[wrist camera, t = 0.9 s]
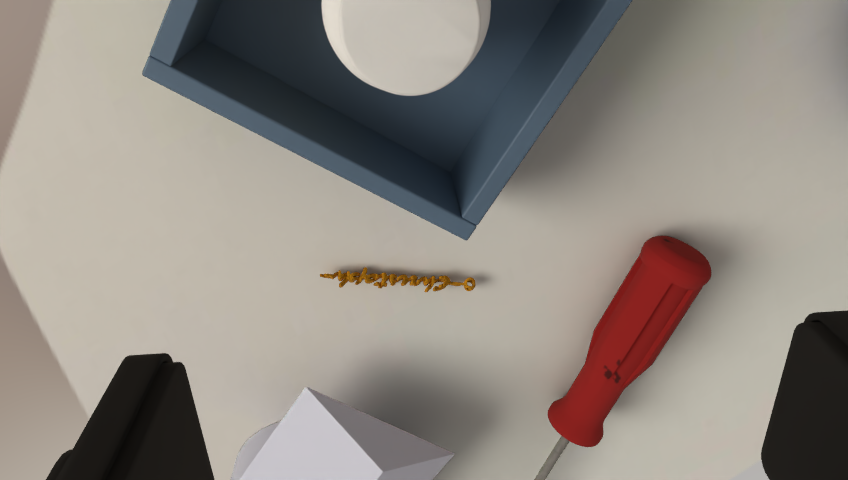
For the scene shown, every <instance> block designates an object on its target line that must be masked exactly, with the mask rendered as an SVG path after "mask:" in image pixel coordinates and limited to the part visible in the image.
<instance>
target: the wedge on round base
mask: <svg viewBox="0 0 848 480" xmlns="http://www.w3.org/2000/svg"><path fill="white" fill-rule="evenodd" d="M454 455H455V453H453V452H450V451H448V450H446V449H444V448H442V447H439V446H437V445H435V444H433V443H430V442H428V441H426V440H424V439H421V438H419V437H417V436H415V435H413V434H410V433H408V432H406V431H404V430H401V429H399V428H397V427H395V426H392V425H390V424H388V423H386V422H384V421H381V420H379V419H377V418H375V417H372V416H370V415H368V414H366V413H363V412H361V411H359V410H357V409H355V408H352V407H350V406H348V405H346V404H343V403H341V402H339V401H337V400H334V399H332V398H330V397H328V396H326V395H323V394H321V393H319V392H317V391H314V390H312V389H310V388H308V387H305V388H304V389H303V391H302V392H301V394H300V395H299V396H298V398H297V399H296V401H295V402H294V403H293V405H292V406H291V408H290V409H289V410H288V412H287V413H286V415H285V416H284V417H283V419H282V420H281V421H280V422H277V423H274V424H271V425H269V426H267V427H265V428H263V429H261V430H260V431H258V432H257V433H255V434H254V435H253V436H252V437H250V438H249V439H248V440H247V441H246V442H245V444H244V445H243V446H242V448H241V449H240V451H239V453H238V455H237V458H236V461H235V465H234V469H233V472H232V476H231V480H433V479H434V477H435V476H436V475H437V474H438V473H439V472H440V471H441V469H442V468H443V467H444V466H445V465H446V464H447V463H448V461H449V460H450V459H451V458H452V457H453V456H454Z"/></svg>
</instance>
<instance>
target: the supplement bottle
mask: <svg viewBox="0 0 848 480" xmlns="http://www.w3.org/2000/svg"><path fill="white" fill-rule="evenodd" d="M321 7H322V17H323V24H324V27H325V31H326V34H327V37H328V40H329V42H330V44H331V46H332V48H333V50H334V51H335V53H336V55H337V56H338V58H339V59H340V60H341V62H342V63H343V64H344V65H345V66H346V67H347V69H349V70H350V71H351V72H352V73H353V74H354V75H355V76H357V77H358V78H359V79H361V80H362V81H364V82H365V83H367V84H369V85H371V86H373V87H376V88H378V89H381V90H384V91H386V92H389V93H393V94H397V95H405V96H416V95H423V94H428V93H431V92H434V91H437V90H439V89H441V88H443V87H445V86H446V85H448V84H449V83H451V82H452V81H453V80H455V79H456V78H457V77H458V76H459V75H460V74H461V73H462V72H463V71H464V70H465V69H466V68H467V67H468V65H469V64H470V63H471V62H472V61H473V59H474V58H475V56H476V55H477V53H478V51H479V50H480V48H481V46H482V44H483V41H484V39H485V36H486V33H487V30H488V26H489V21H490V12H491V0H322V5H321Z"/></svg>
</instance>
